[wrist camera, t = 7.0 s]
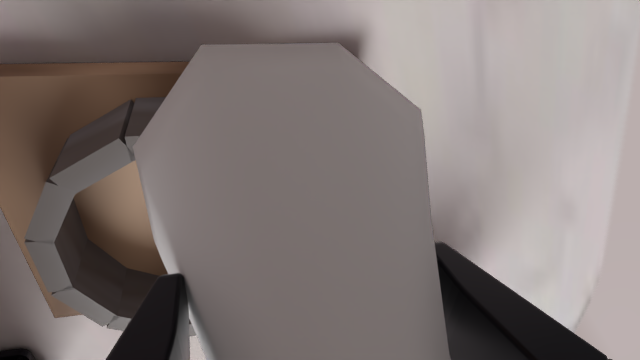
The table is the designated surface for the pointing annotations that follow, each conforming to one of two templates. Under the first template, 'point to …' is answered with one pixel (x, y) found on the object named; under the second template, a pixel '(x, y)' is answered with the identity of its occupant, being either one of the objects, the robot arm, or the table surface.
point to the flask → (295, 206)
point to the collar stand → (82, 181)
